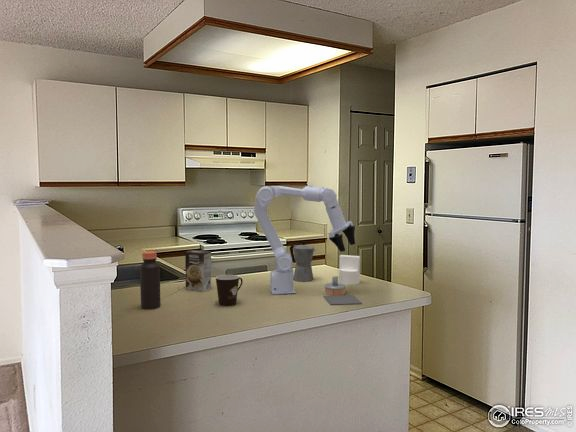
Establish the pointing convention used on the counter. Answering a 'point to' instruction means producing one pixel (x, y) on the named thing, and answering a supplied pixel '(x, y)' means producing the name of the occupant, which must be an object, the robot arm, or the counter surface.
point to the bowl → (335, 291)
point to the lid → (334, 284)
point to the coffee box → (198, 270)
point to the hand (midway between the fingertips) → (347, 247)
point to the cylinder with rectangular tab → (349, 270)
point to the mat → (342, 300)
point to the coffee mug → (227, 289)
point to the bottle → (150, 281)
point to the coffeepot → (302, 262)
